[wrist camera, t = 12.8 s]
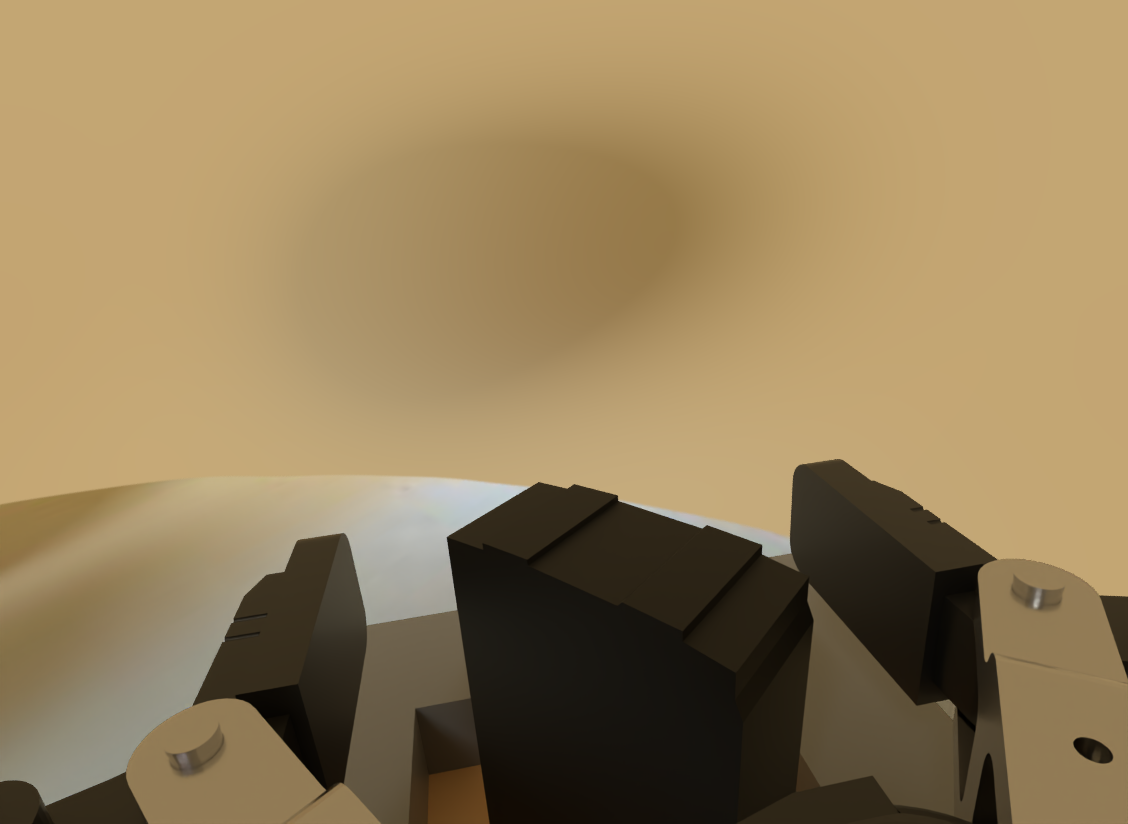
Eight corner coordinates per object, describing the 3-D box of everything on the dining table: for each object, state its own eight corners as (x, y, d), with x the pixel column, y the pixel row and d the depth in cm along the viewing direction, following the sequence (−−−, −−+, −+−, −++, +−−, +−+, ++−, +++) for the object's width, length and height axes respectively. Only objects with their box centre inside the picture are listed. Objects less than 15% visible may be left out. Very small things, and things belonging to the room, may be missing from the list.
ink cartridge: (786, 942, 12) (823, 557, 9) (725, 1074, 10) (744, 658, 7) (569, 789, 15) (542, 466, 12) (496, 872, 13) (443, 522, 10)
